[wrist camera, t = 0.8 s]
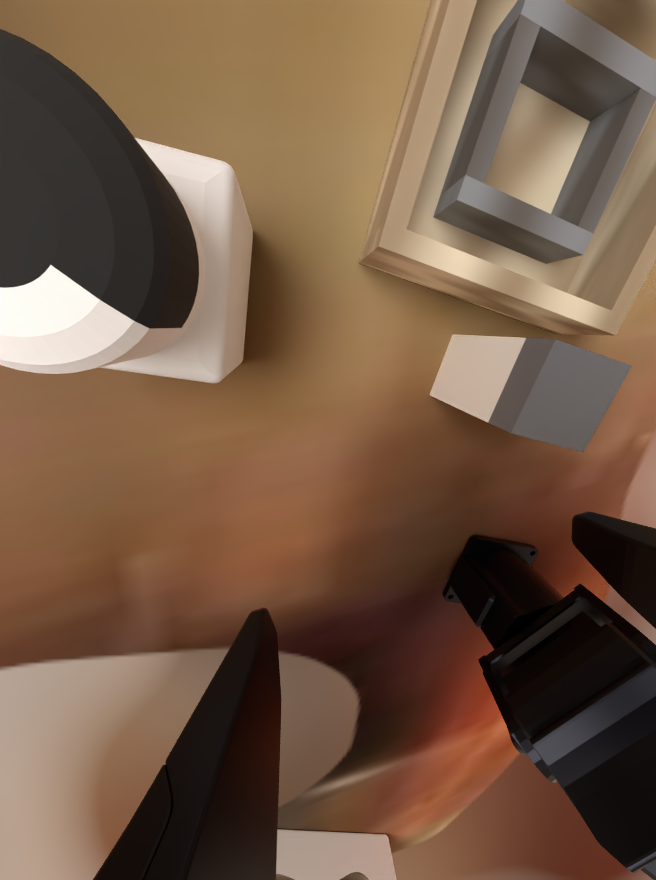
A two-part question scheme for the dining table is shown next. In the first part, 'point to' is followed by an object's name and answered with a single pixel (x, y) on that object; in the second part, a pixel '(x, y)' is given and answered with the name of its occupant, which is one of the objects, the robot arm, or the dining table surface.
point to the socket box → (526, 161)
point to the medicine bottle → (111, 237)
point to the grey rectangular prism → (530, 386)
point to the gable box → (333, 856)
